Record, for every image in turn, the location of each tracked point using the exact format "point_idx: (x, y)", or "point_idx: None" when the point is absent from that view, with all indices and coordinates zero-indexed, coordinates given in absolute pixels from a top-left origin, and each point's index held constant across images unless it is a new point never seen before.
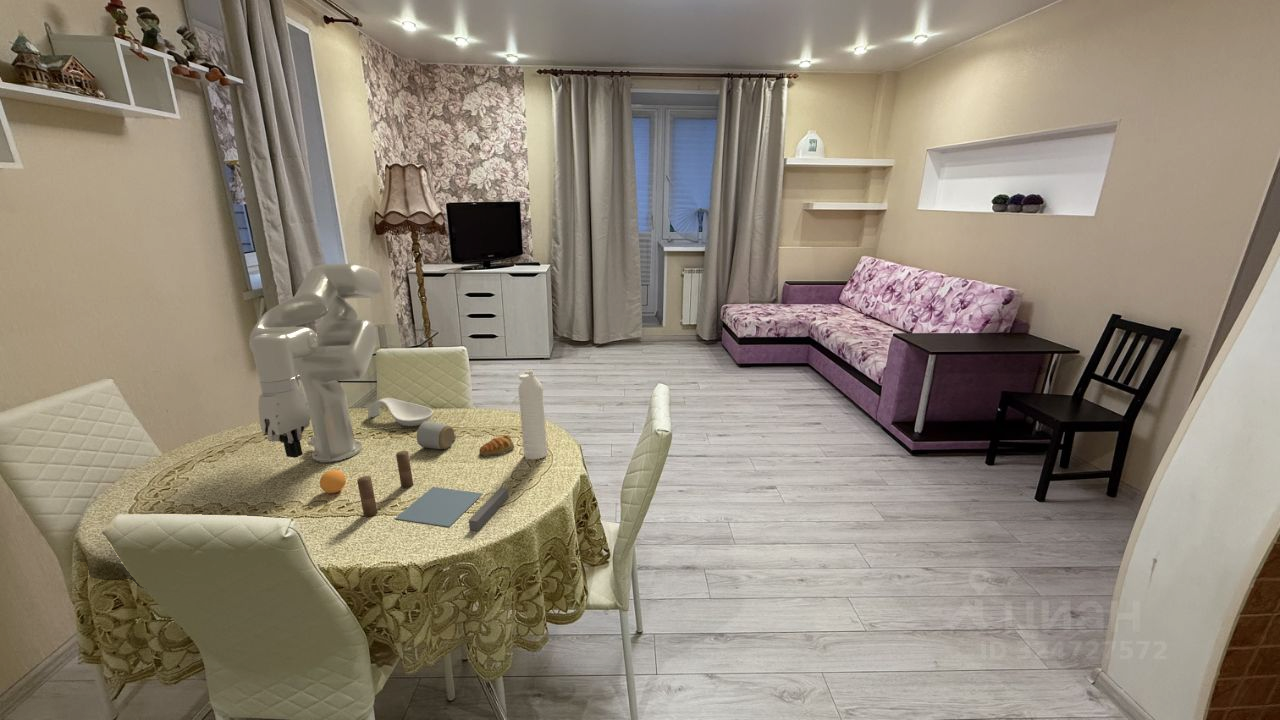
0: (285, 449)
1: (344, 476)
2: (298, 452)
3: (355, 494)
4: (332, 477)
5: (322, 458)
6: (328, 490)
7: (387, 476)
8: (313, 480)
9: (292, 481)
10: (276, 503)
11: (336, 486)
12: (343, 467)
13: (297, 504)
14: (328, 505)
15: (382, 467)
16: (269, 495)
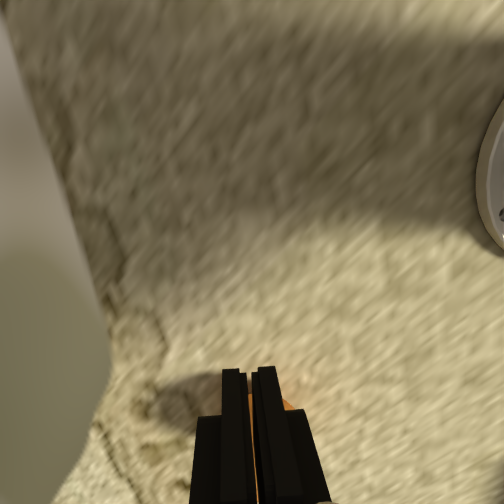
0: (195, 458)
1: None
2: (255, 463)
3: None
4: None
5: (497, 171)
6: None
7: (381, 479)
8: (314, 269)
9: (287, 182)
10: (122, 279)
11: None
12: (435, 299)
13: (147, 357)
14: (179, 448)
15: (441, 428)
16: (157, 191)
